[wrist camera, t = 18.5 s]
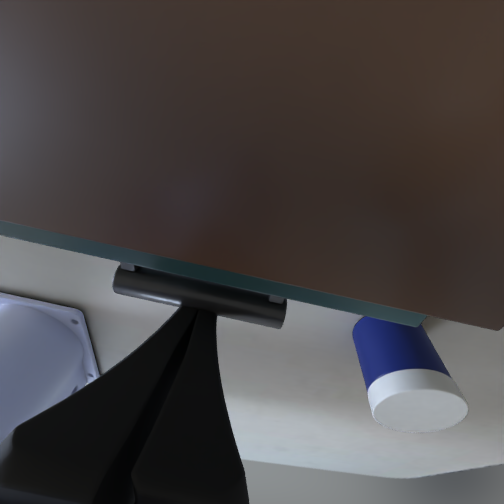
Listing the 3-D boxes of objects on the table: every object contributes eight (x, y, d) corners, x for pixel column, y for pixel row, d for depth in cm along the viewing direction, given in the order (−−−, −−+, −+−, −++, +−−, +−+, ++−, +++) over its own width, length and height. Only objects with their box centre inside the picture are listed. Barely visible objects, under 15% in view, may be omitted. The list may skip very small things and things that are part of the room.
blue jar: (341, 344, 17) (358, 423, 13) (368, 302, 15) (399, 381, 11) (400, 357, 17) (435, 439, 13) (436, 317, 15) (491, 401, 11)
